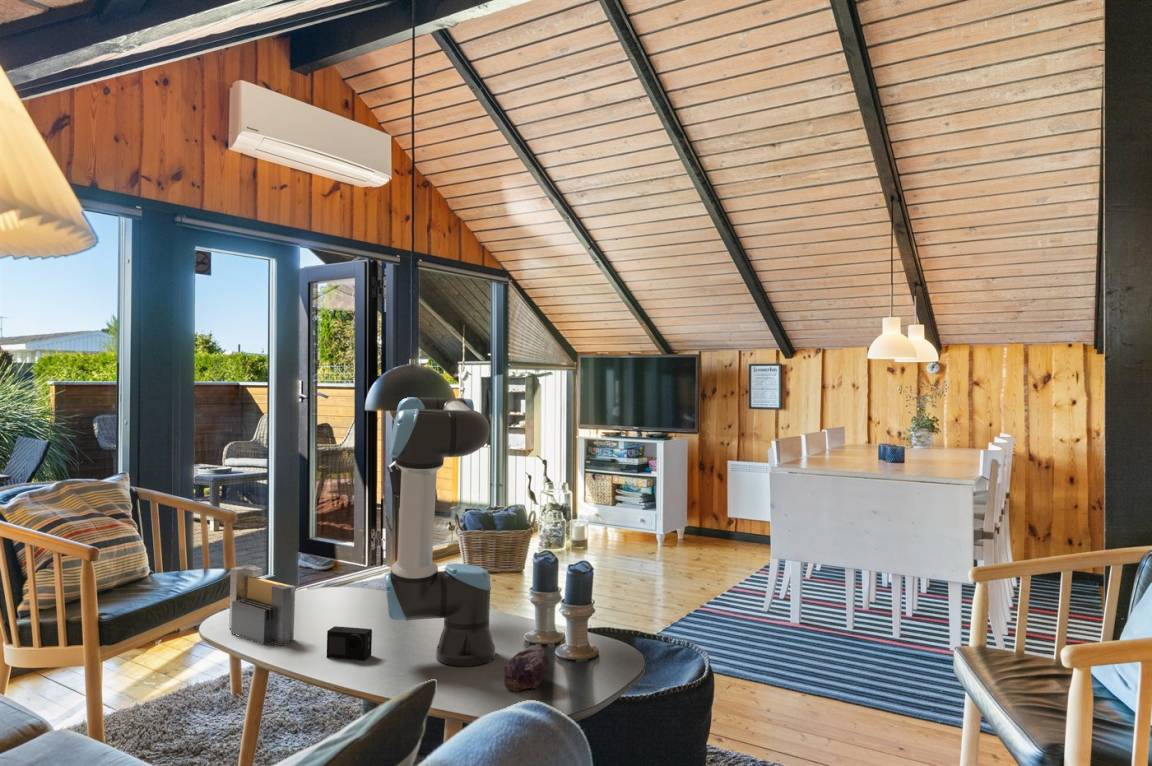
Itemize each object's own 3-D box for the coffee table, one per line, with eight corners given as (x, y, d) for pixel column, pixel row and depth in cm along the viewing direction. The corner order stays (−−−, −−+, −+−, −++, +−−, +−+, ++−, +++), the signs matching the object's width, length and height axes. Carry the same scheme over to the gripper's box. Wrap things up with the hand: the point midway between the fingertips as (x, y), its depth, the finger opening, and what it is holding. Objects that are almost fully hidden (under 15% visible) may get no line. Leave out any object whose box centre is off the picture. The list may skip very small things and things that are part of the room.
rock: (499, 693, 183) (534, 702, 178) (495, 658, 182) (531, 666, 177) (527, 671, 193) (562, 678, 188) (524, 637, 192) (559, 644, 187)
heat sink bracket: (300, 640, 214) (302, 577, 214) (273, 648, 207) (275, 583, 207) (248, 623, 228) (250, 564, 228) (221, 630, 221) (223, 569, 221)
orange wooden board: (295, 638, 214) (297, 586, 214) (287, 640, 212) (289, 588, 212) (252, 625, 225) (254, 575, 225) (244, 627, 223) (246, 577, 223)
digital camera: (323, 659, 200) (324, 631, 200) (333, 652, 205) (334, 625, 205) (362, 662, 198) (363, 634, 198) (371, 655, 203) (372, 628, 204)
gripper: (413, 439, 247) (411, 515, 247) (381, 441, 237) (378, 520, 236) (430, 441, 243) (428, 517, 243) (398, 442, 232) (396, 523, 232)
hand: (404, 518), depth 240 cm, fingers closed
